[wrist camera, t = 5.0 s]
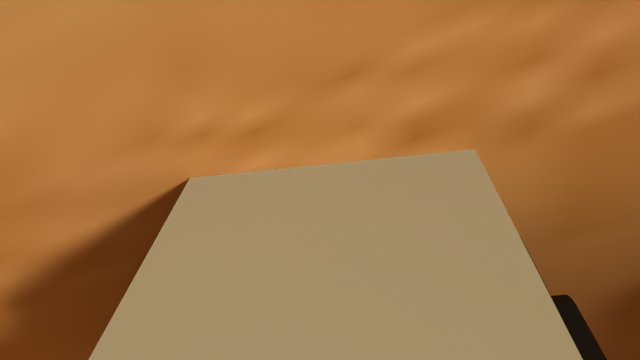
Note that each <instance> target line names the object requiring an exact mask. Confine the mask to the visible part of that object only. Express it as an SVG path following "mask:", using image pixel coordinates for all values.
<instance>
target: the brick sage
mask: <svg viewBox="0 0 640 360" xmlns="http://www.w3.org/2000/svg"><path fill="white" fill-rule="evenodd" d="M88 360H583V359H582V357H581V355H580V353H579V351H578V349H577V347H576V345H575V343H574V341H573V340H572V338H571V336H570V334H569V332H568V330H567V328H566V326H565V324H564V322H563V320H562V318H561V316H560V314H559V312H558V310H557V308H556V306H555V304H554V302H553V300H552V298H551V297H550V295H549V293H548V291H547V289H546V287H545V285H544V283H543V281H542V279H541V277H540V275H539V273H538V271H537V269H536V267H535V265H534V263H533V261H532V259H531V257H530V256H529V254H528V252H527V250H526V248H525V246H524V244H523V242H522V240H521V238H520V236H519V234H518V232H517V230H516V228H515V226H514V224H513V222H512V220H511V218H510V216H509V215H508V213H507V211H506V209H505V207H504V205H503V203H502V201H501V199H500V197H499V195H498V193H497V191H496V189H495V187H494V185H493V183H492V181H491V179H490V177H489V175H488V174H487V172H486V170H485V168H484V166H483V164H482V162H481V160H480V158H479V156H478V154H477V152H476V150H475V149H471V150H461V151H451V152H441V153H431V154H421V155H412V156H402V157H392V158H382V159H372V160H362V161H352V162H342V163H332V164H323V165H313V166H303V167H293V168H283V169H273V170H263V171H253V172H243V173H234V174H224V175H214V176H204V177H194V178H189V180H188V182H187V184H186V186H185V187H184V189H183V191H182V193H181V195H180V196H179V198H178V200H177V202H176V204H175V205H174V207H173V209H172V211H171V213H170V214H169V216H168V218H167V220H166V221H165V223H164V225H163V227H162V229H161V230H160V232H159V234H158V236H157V238H156V239H155V241H154V243H153V245H152V247H151V248H150V250H149V252H148V254H147V256H146V257H145V259H144V261H143V263H142V264H141V266H140V268H139V270H138V272H137V273H136V275H135V277H134V279H133V281H132V282H131V284H130V286H129V288H128V290H127V291H126V293H125V295H124V297H123V299H122V300H121V302H120V304H119V306H118V308H117V309H116V311H115V313H114V315H113V316H112V318H111V320H110V322H109V324H108V325H107V327H106V329H105V331H104V333H103V334H102V336H101V338H100V340H99V342H98V343H97V345H96V347H95V349H94V351H93V352H92V354H91V356H90V358H89V359H88Z"/></svg>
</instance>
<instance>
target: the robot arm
mask: <svg viewBox="0 0 640 360" xmlns="http://www.w3.org/2000/svg"><path fill="white" fill-rule="evenodd" d="M520 238H521V237H520ZM521 240H522V239H521ZM522 242H523V241H522ZM523 244H524V243H523ZM524 246H525V245H524ZM525 248H526V247H525ZM526 250H527V249H526ZM527 252H528V251H527ZM528 254H529V253H528ZM529 256H530V254H529ZM530 257H531V256H530ZM531 259H532V258H531ZM532 261H533V260H532ZM533 263H534V262H533ZM534 265H535V264H534ZM535 267H536V266H535ZM536 269H537V268H536ZM537 271H538V270H537ZM538 273H539V272H538ZM539 275H540V274H539ZM540 277H541V276H540ZM541 279H542V278H541ZM542 281H543V280H542ZM543 283H544V282H543ZM544 285H545V284H544ZM545 287H546V286H545ZM546 289H547V288H546ZM547 291H548V290H547ZM548 293H549V291H548ZM549 295H550V293H549ZM550 297H551V298H552V300H553V302H554V304H555V306H556V308H557V310H558V312H559V314H560V316H561V318H562V320H563V322H564V324H565V326H566V328H567V330H568V332H569V334H570V336H571V338H572V340H573V341H574V343H575V345H576V347H577V349H578V351H579V353H580V355H581V357H582V359H583V360H607V359H606V357H605V356H604V354H603V352H602V350H601V348H600V347H599V345H598V343H597V341H596V340H595V338H594V336H593V334H592V332H591V331H590V329H589V327H588V325H587V324H586V322H585V320H584V318H583V317H582V315H581V313H580V311H579V309H578V308H577V306H576V304H575V303H574V301H573V300H572V298H571V297H569V296H568V295H558V296H551V295H550Z"/></svg>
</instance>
